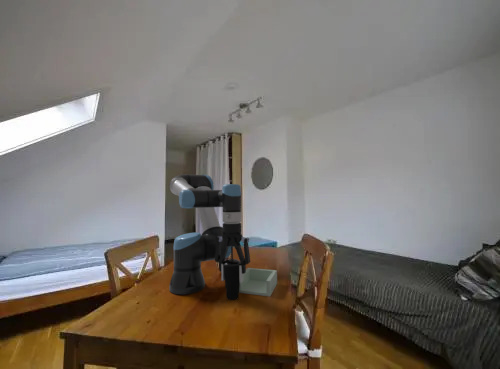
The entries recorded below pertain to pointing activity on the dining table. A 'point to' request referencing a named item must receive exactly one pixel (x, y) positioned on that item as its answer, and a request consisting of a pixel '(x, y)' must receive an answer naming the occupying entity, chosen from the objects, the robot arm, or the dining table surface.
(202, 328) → the dining table surface
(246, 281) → the u rest
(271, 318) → the dining table surface
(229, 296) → the drinking cup
